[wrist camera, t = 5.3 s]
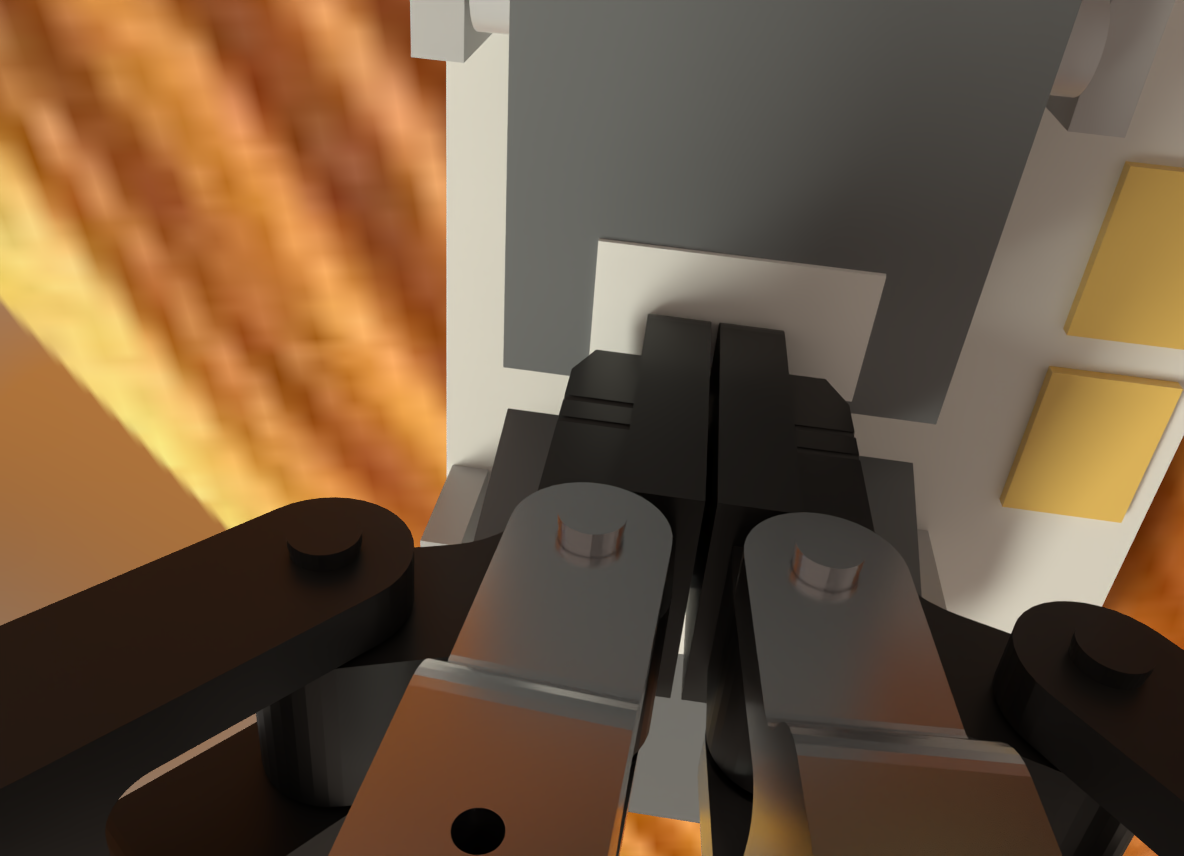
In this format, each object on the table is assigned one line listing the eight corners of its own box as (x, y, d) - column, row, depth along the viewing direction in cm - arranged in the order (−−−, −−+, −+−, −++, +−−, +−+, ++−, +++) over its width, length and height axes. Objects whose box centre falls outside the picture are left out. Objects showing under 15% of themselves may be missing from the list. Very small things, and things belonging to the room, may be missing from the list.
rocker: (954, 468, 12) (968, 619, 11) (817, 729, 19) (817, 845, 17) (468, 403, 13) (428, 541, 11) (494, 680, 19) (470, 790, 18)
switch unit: (1414, -375, 12) (1764, -450, 8) (994, 647, 21) (1053, 859, 17) (504, -448, 13) (387, -552, 9) (480, 573, 22) (419, 758, 18)
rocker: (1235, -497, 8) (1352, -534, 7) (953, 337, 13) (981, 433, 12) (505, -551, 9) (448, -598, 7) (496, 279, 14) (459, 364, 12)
